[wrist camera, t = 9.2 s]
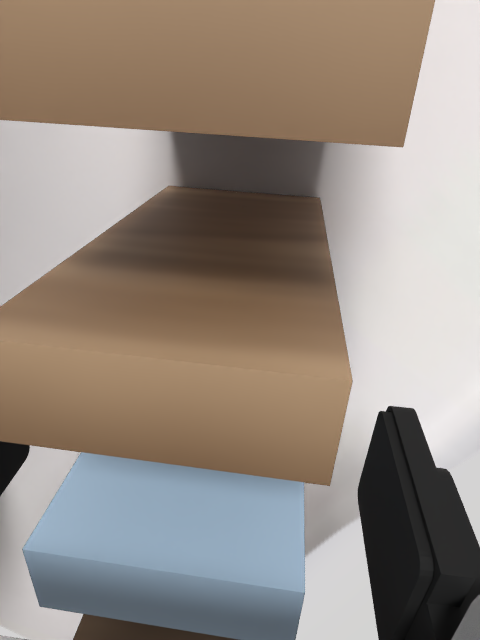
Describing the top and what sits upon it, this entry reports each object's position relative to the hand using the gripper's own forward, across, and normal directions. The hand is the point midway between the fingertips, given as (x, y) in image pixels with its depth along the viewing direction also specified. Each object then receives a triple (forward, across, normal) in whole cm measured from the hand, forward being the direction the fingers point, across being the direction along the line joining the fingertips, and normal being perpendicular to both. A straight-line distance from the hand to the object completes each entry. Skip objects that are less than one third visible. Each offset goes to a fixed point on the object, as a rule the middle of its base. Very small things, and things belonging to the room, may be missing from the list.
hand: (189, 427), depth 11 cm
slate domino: (+6, 0, +1) cm, 6 cm away
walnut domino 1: (+6, 0, -8) cm, 10 cm away
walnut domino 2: (+6, 0, -4) cm, 7 cm away
